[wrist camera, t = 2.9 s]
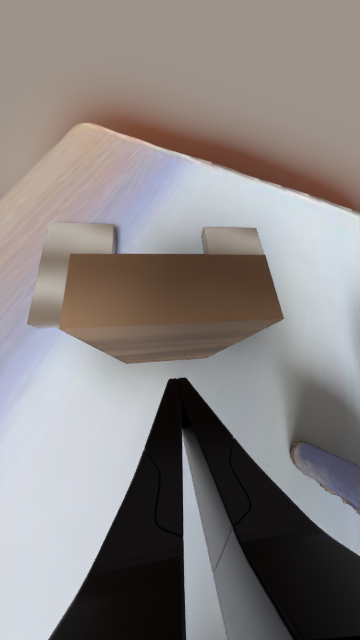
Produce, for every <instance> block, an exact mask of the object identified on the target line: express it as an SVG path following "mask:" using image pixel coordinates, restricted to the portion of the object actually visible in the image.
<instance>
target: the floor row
mask: <svg viewBox="0 0 360 640" xmlns="http://www.w3.org/2000/svg"><path fill="white" fill-rule="evenodd" d="M202 242H203V248H204V254H233V255H264V253H263V250H262V246H261V243H260V239H259V236H258V232H257V229H256V228H235V227H204V229H203V233H202ZM115 253H116V231H115V228H114V225H113V224H87V223H50V222H49V223H48V228H47V233H46V237H45V242H44V247H43V251H42V256H41V261H40V266H39V270H38V275H37V280H36V284H35V289H34V294H33V298H32V303H31V308H30V312H29V317H28V322H27V324H29V325H31V326H34V327H36V328H59V325H60V318H61V312H62V305H63V298H64V292H65V285H66V278H67V271H68V265H69V258H70V254H115Z"/></svg>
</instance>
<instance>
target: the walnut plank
mask: <svg viewBox="0 0 360 640" xmlns="http://www.w3.org/2000/svg"><path fill="white" fill-rule="evenodd" d="M282 319H284V318H283V314H282V311H281V308H280V304H279V301H278V297H277V294H276V290H275V287H274V284H273V280H272V277H271V273H270V270H269V267H268V263H267V260H266V256H265V255H233V254H70V258H69V265H68V271H67V278H66V285H65V292H64V298H63V305H62V312H61V318H60V325H59V329H60V330H62V331H64V332H66V333H68V334H69V335H71V336H73V337H75V338H77V339H79V340H81V341H83V342H85V343H87V344H89V345H91V346H93V347H95V348H97V349H99V350H101V351H103V352H105V353H107V354H109V355H111V356H112V357H114V358H116V359H118V360H120V361H122V362H124V363H126V364H129V363H142V362H156V361H170V360H184V359H198V358H207V357H209V356H211V355H213V354H215V353H217V352H219V351H221V350H223V349H225V348H227V347H229V346H231V345H233V344H235V343H237V342H239V341H241V340H243V339H245V338H247V337H249V336H251V335H253V334H255V333H257V332H259V331H261V330H263V329H265V328H267V327H269V326H271V325H273V324H275V323H277V322H279V321H281V320H282Z"/></svg>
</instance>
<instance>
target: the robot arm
mask: <svg viewBox="0 0 360 640" xmlns="http://www.w3.org/2000/svg"><path fill="white" fill-rule="evenodd" d="M182 435H183V440H184V444H185V449H186V453H187V458H188V462H189V467H190V472H191V476H192V481H193V485H194V490H195V494H196V499H197V503H198V508H199V512H200V517H201V521H202V526H203V531H204V535H205V540H206V544H207V549H208V553H209V558H210V562H211V567H212V571H213V574H214V575H213V576H214V581H215V585H216V590H217V594H218V599H219V603H220V608H221V612H222V617H223V621H224V626H225V631H226V635H227V640H360V556H359V555H357V554H356V553H354V552H353V551H351V550H350V549H348V548H347V547H345V546H344V545H342V544H341V543H339V542H338V541H336V540H335V539H333V538H332V537H331V536H329V535H328V534H327V533H325V532H324V531H323V530H322V529H321V528H319V527H318V526H317V525H316V524H315V523H314V522H313V521H312V520H310V519H309V518H308V517H307V516H306V515H305V514H304V513H303V512H302V511H301V509H300V508H299V507H298V506H297V505H296V504H295V503H294V502H293V501H292V500H291V499H290V498H289V497H288V496H287V495H286V494H285V493H284V492H283V491H282V490H281V489H280V488H279V487H278V486H277V485H276V484H275V483H274V482H273V481H272V480H271V478H270V477H269V476H268V475H267V474H266V473H265V472H264V471H263V470H262V469H261V468H260V467H259V466H258V465H257V464H256V463H255V461H254V460H253V459H252V458H251V457H250V456H249V455H248V453H247V452H246V451H245V450H244V449H243V448H242V446H241V445H240V444H239V443H238V441H237V440H236V439H235V438H233V435H232V434H231V433H230V432H229V430H228V429H227V428H226V427H225V425H224V424H223V423H222V422H221V420H220V419H219V418H218V417H217V415H216V414H215V413H214V412H213V411H212V409H211V408H210V407H209V406H208V404H207V403H206V402H205V401H204V399H203V398H202V397H201V396H200V394H199V393H198V392H197V391H196V390H195V388H194V387H193V386H192V385H191V383H190V382H189V381H188V380H187V378H178V379H176V378H174V379H169V380H168V383H167V385H166V388H165V391H164V394H163V397H162V400H161V402H160V405H159V408H158V411H157V414H156V417H155V419H154V422H153V425H152V428H151V431H150V433H149V436H148V439H147V442H146V445H145V448H144V450H143V453H142V456H141V459H140V461H139V464H138V467H137V469H136V472H135V474H134V477H133V479H132V482H131V484H130V486H129V488H128V491H127V493H126V495H125V497H124V500H123V502H122V504H121V506H120V508H119V510H118V512H117V515H116V517H115V519H114V521H113V523H112V525H111V527H110V529H109V531H108V534H107V536H106V538H105V540H104V542H103V544H102V546H101V548H100V551H99V553H98V555H97V557H96V559H95V561H94V563H93V565H92V567H91V569H90V571H89V573H88V575H87V577H86V578H85V580H84V582H83V584H82V586H81V588H80V589H79V591H78V593H77V595H76V596H75V598H74V600H73V601H72V603H71V605H70V606H69V608H68V609H67V611H66V613H65V614H64V616H63V617H62V619H61V620H60V622H59V624H58V625H57V627H56V628H55V630H54V631H53V633H52V635H51V636H50V638H49V639H48V640H186V621H185V589H184V543H183V468H182Z"/></svg>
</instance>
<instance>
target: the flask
mask: <svg viewBox="0 0 360 640" xmlns="http://www.w3.org/2000/svg"><path fill="white" fill-rule="evenodd" d="M295 445H297V446H295ZM294 446H295V447H294ZM293 447H294V448H293ZM291 451H292V452H291V455H290V457H291V459H292V460H293V463H294V464H295V466H296V467H297V468H298V469H299V470H300V471H301V472H302V473H303V474H305V475H306V476H307V475H308V476H309V477H311V478H313V479H315V480H316V481H317V482H319V483H320V486H322V487H323V488H324V489H325V490H326V491H328V492H330V493H331V494H333V495H334V494H335V495H338V496H340V497H341V498H342V499H343V502H344V503H346V504H349V505H351V506H352V507H353V508H354V509H355V511H356V513H358V514H359V515H360V466H358V465H356V464H354V463H351V462H349V461H346V460H344V459H342V458H340V457H338V456H335V455H333V454H331V453H329V452H326V451H324V450H322V449H320V448H318V447H316V446H314V445H312V444H310V443H306V442H301V441H300V442H296V443H295V444H294V445H293V446H292V450H291Z"/></svg>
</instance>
